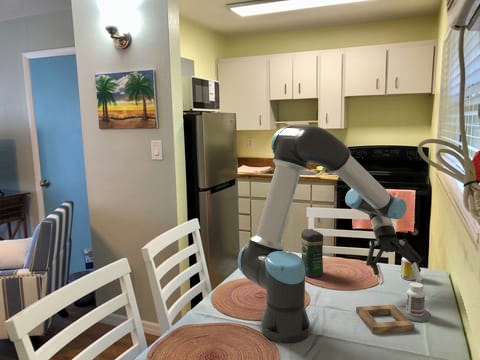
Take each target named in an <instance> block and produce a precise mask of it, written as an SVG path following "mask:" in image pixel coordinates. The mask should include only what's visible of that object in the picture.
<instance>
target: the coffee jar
mask: <svg viewBox="0 0 480 360" xmlns="http://www.w3.org/2000/svg"><path fill="white" fill-rule="evenodd" d="M300 238H301V239H300V240H301V259H302V260H303V262H304V266H305V276H306V277H312V278H317V277H320V276H323V274H324V260H323V258H324V257H323V256H324V254H323V253H324V250H323V246H324V235H323V234H322V233H321V232H319V231H317V230H314V228H307V229H306V228H305V229H304V230H302V232H301V236H300Z"/></svg>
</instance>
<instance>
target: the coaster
mask: <svg viewBox="0 0 480 360" xmlns="http://www.w3.org/2000/svg"><path fill="white" fill-rule="evenodd" d="M398 309H399V310H400V311H401V312H402V313H403V314H404V315H405V316H406V317H407V318H408V319H409V320H410V321H411V322H416V323H417V322H418V323H425V322H429V321H430V320H431V319H432V314H431V312H430V311H429V310H427V309H425V308H424V314H423V315H422V316H413V315H410V314H408V313H407V312H406V305H403V306H402V305H401V306H399V308H398Z"/></svg>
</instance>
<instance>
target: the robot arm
mask: <svg viewBox="0 0 480 360" xmlns="http://www.w3.org/2000/svg"><path fill="white" fill-rule="evenodd" d="M270 143H271V144H270V145H271V147H270V148H271V150H272V154H273V159H272V162H273V163H274V165H275V169H274V172H273V175H272V179H271V181H270V185H269V188H268V192H267V195H266V199H265V203H264V206H263V209H262V213H261V217H260V220H259V223H258V226H257V229H256V230H257V231H256V234H255V235H253V236H251V237H250V238H249V240H248V241H249V242H248V243H247V244H245V246H243V247H242V248H241V249H240V251H239V253H238V257H237V266H238V269H239V271H240V273H242V275H243V276H244V277H245V278H246V279H248V280H249V281H251V282H253V283H255V284H256V285H258V286H260V287H261V288H262V289H264V290H265V291H266V295H265V296H266V306H265V308H264V312H263V315H262V317H261V321H260V331H261V333H262V334H263V336H264V337H266V338H267V339H269V340H270V341H271V340H272V341H274V342H278V343H284V344H285V343H286V344H287V343H288V344H291V343H297V342H300V341H304V340H305V339H307V338H308V337H309V335H310V333H311V322H310V319H309V315H308V313H307V310H306V307H305V298H306V275H305V266H304V262H303V260H302V257H300V255H298V254H296V253H294V252H290V251H288V252H287V251H286V250H285V251H284V246H283V244H282V239H283V235H284V232H285V227H286V224H287V222H288V217H289V214H290V211H291V208H292V204H293V200H294V196H295V195H296V190H297V186H298V183H299V179H300V175H301V174H302V173H304V172H305V171H307V168H308V164H309V163H310V164H314V165H317V166H320V167H322V168H324V169H325V170H326V171H327V172H330V173H333V174H335V175H336V176H337V177H338V178H339V179H341V180H342V181H343V182H344V183H346V185H347V186H348V187H350V188H351V189H348V191H347V193H346V195H345V199H344V201H345V204H346V206H348V207H350V208H351V209H353V210H356V211H359V212H361V213H364V214H367V215H368V217H369V220H370V224H371V227H372V230H373V231H374V232H373V233H374V238H375V240H374V239H371V240H370V241H369V243H368V245H369V250H368V254H367V258H366V263H365V265H366V266H367V267H368V266H370V268H372V270H373V274H374V275H375V276H376V277H377V280H378V283H379V285H380V286H381V285H383V284H384V283H385V278H384V275H383V272H382V268H381V266H380V264H379V263H378V262H379V260H380V259H381V257H382V255H383V254H384V253H387V254H388V253H397V254H399V255H400V256H402V258H403V257H404V258H405V259H407V260H408V261H409V262H410V263H412V265H411V267H412V270H413V273H414V276H415V279H414V280H415V281H416V283H421V281H422V280H423V278H422V276H421V271H422V269H421V267H420V263H421V262H422V261H423V257H421V255H419V253H418V252H417V251H416V250H415V249H414V248H413V247H412V245H410V243H409V242H408V240H407V238H405V237H403V238H402V239H399V238H398V237H397V232H396V229H395V227H394V224H393V221H392V220H401V219H402V218H403V217H404V216H405V214H406V212H407V203H406V201H405V200H404V199H403V198H400V197H399V196H398V197H397V196H396V197H395V196H393V195H392V194H391V193H390V192H389V191H388V190H387V189H386V188H385V187H384V186H382V185H381V183H379V182H378V181H377V180H376V179H375V178H374V176H373V175H371V174H370V173H369V172H368V171H367V170H366V169H365V168H364V167H363V166H362V164H360V163H359V162H358V161H357V159H355V158H354V157H353V156H352V155H351V150H350V149H349V147H348V146H347V145H346V144H345V143H344V142H343V141H341V140H340V139H339V138H338V137H336V136H335V135H334V134H332V133H331V132H329V131H328V130H327V129H324V128H323V127H319V126H315V125H309V126H308V125H307V126H305V125H290V126H283V127H281V128H279V129H278V130H277V131H276V132H275V133H274V135H273V137H272V139H271V142H270ZM376 246H377V247H379V248H380V249H379V250H378V253H377V255H376V256H375V258H374V260H373V256H374V252H375V249H376V248H375V247H376Z"/></svg>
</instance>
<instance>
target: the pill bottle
mask: <svg viewBox="0 0 480 360" xmlns="http://www.w3.org/2000/svg"><path fill="white" fill-rule="evenodd" d="M423 290H424V285H423V284H422V283H421V282H419V283H417V281H416V282H410V283H409V289H408V290H407V291H406V301H405V303H406V304H405V306H406V312H407V313H408V314H410V315H413V316H422V315H423V314H424V309H425V301H426V300H425V298H426V293H425V292H424V291H423Z"/></svg>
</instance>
